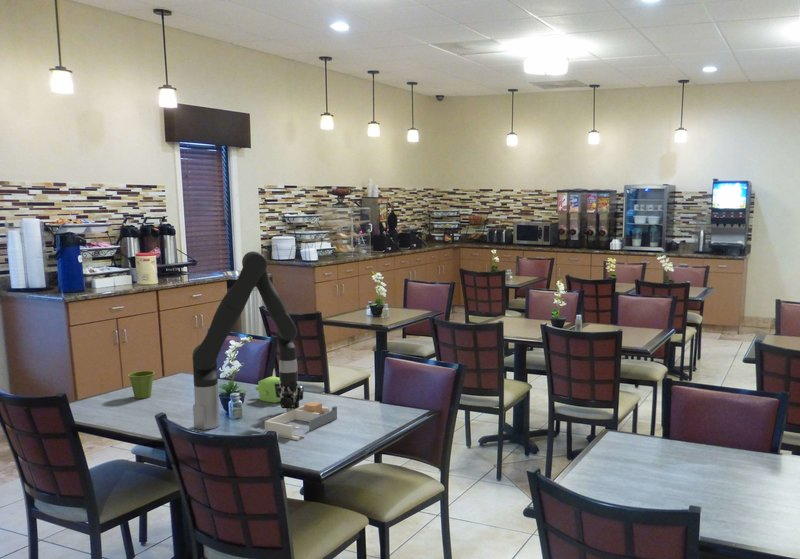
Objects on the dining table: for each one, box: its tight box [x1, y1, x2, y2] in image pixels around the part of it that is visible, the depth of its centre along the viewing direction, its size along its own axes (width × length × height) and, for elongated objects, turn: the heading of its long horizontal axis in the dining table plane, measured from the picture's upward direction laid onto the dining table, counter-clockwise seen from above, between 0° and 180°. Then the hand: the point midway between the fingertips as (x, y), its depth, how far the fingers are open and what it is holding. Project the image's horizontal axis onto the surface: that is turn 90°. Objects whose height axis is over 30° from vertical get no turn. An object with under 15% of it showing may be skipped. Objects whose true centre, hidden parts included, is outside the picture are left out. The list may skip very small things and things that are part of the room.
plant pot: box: [127, 370, 156, 400], centre depth 321 cm, size 12×12×11 cm
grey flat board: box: [308, 405, 338, 431], centre depth 272 cm, size 17×1×5 cm, turn 149°
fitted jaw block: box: [304, 401, 323, 415], centre depth 280 cm, size 5×5×6 cm
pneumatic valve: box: [280, 391, 296, 412], centre depth 287 cm, size 6×12×12 cm, turn 174°
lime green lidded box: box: [255, 376, 282, 403], centre depth 313 cm, size 18×10×10 cm, turn 55°
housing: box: [264, 404, 330, 441], centre depth 273 cm, size 26×16×5 cm, turn 149°
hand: (289, 408), depth 288 cm, fingers closed on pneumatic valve, 6 cm apart
